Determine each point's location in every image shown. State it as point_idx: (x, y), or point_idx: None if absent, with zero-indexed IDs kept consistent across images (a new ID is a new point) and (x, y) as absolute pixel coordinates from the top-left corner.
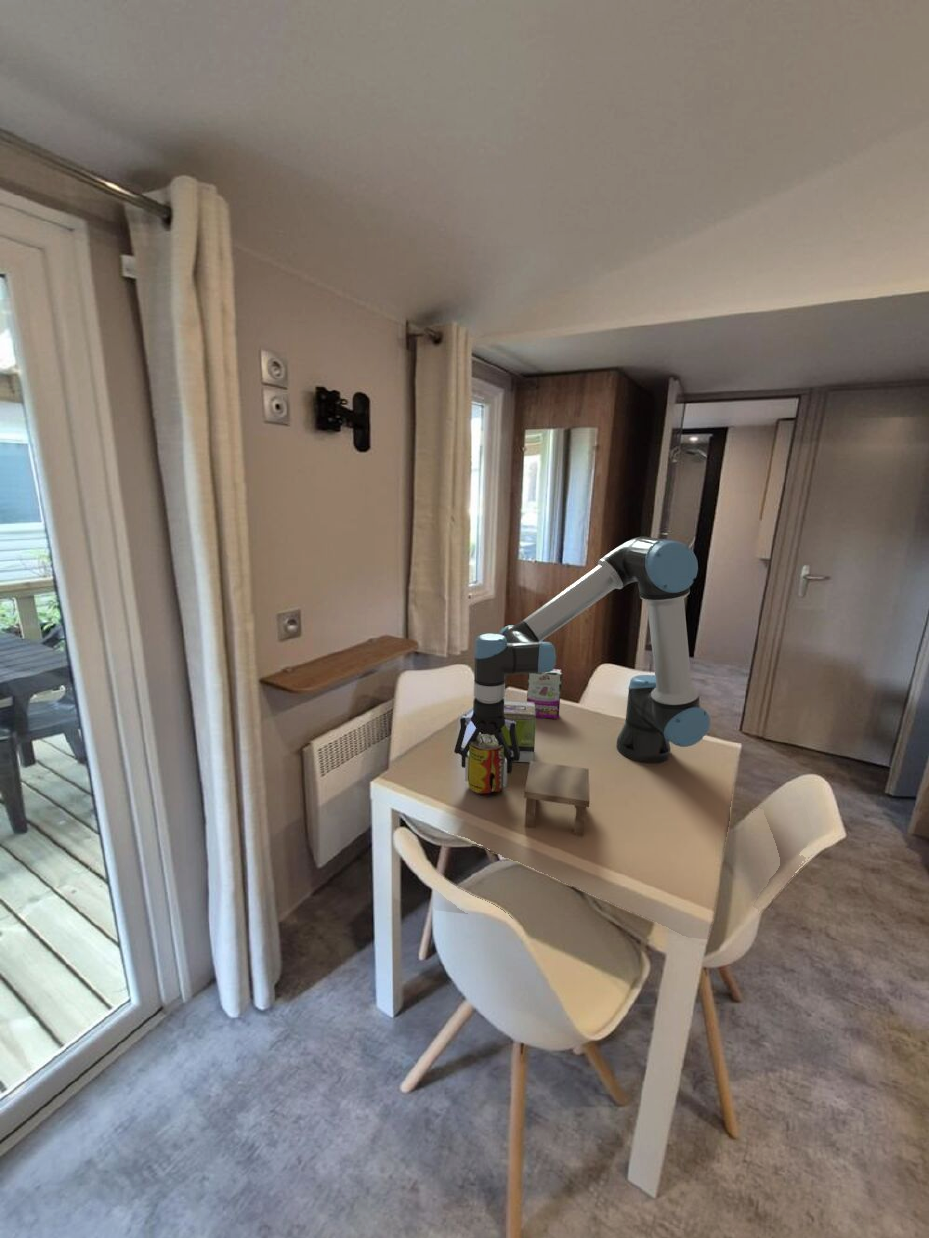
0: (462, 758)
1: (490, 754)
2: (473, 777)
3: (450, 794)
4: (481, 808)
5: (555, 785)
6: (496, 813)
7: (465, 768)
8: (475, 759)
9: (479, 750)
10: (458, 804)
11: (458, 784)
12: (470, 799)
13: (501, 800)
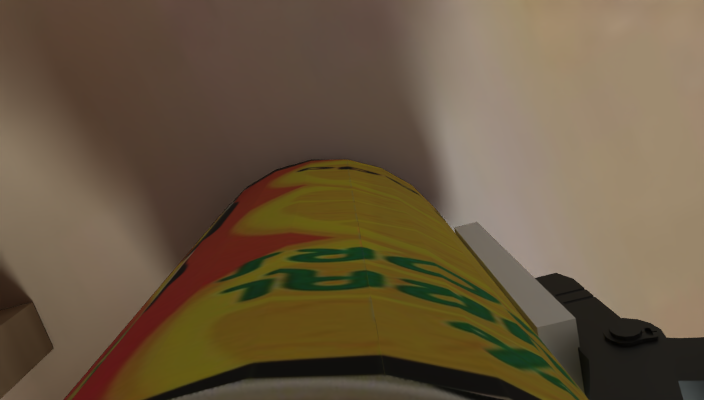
0: (607, 318)
1: (104, 374)
2: (393, 191)
3: (523, 90)
4: (253, 43)
5: None
6: (135, 41)
7: (516, 262)
8: (402, 257)
9: (333, 346)
10: (420, 4)
11: (520, 229)
12: (370, 106)
13: (180, 201)
